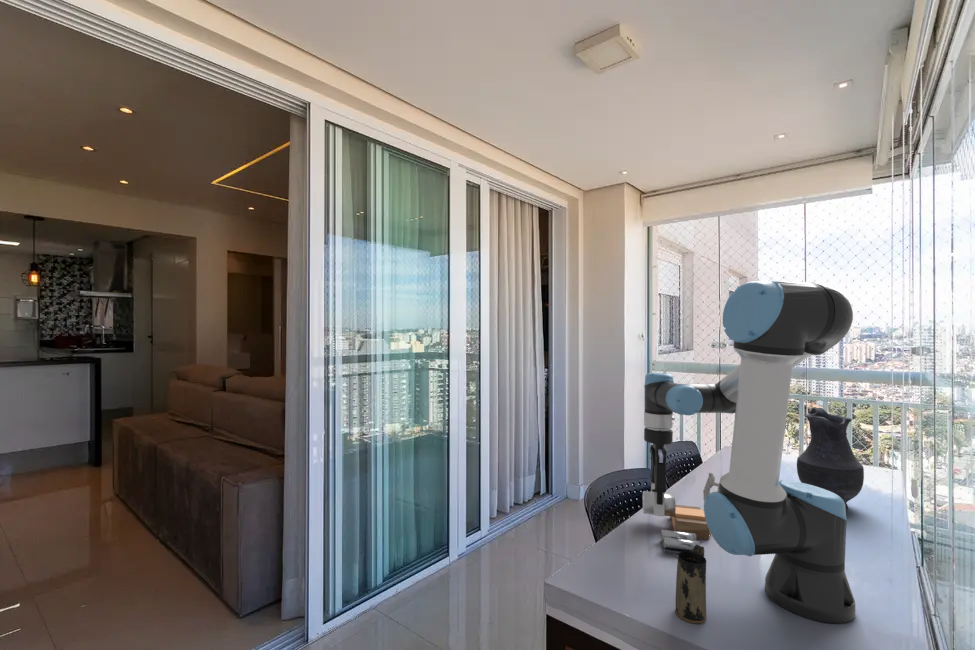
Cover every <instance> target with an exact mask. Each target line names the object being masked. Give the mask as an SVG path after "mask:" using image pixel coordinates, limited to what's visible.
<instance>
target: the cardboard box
mask: <svg viewBox="0 0 975 650" xmlns="http://www.w3.org/2000/svg"><path fill="white" fill-rule="evenodd" d="M675 505H676V507H680V508H689V509H698V510H702V509H701V507H700V506H691V505H683V504H682V505H681V504H675ZM669 519H670V522H672V517H670V516H669ZM674 531H678V532H686V533H694V534H696V539H699V540H700V539H701V540H710V536H709V528H708V526H707V523H706V520H698V519H689V518H680V517H675V530H674Z"/></svg>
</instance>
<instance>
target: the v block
mask: <svg viewBox="0 0 975 650" xmlns="http://www.w3.org/2000/svg"><path fill="white" fill-rule="evenodd" d="M660 534H661V537H660V543H661V545H662V549H663V553H664V554H665V555H669V556H670V555H672V556H678V554H679V553H680V552H683V551H689V552H690V550H692V549H693V548H694V547H695V545H698V546H701V542H700V541H699V540H697V538H696V534H694V533H686V532H678V531H675V530H668V529H661V533H660Z"/></svg>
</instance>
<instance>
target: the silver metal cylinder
mask: <svg viewBox="0 0 975 650" xmlns="http://www.w3.org/2000/svg"><path fill="white" fill-rule="evenodd" d="M676 505H677V504H676V497H675V494H674V493H669V492H668V493H667V492H665V505H664V516H663V517H669V518H670V517H675V511H676ZM642 513H643V514H644V515H652V516H655V515H654V492H651V491H647V490H643V491H642Z"/></svg>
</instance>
